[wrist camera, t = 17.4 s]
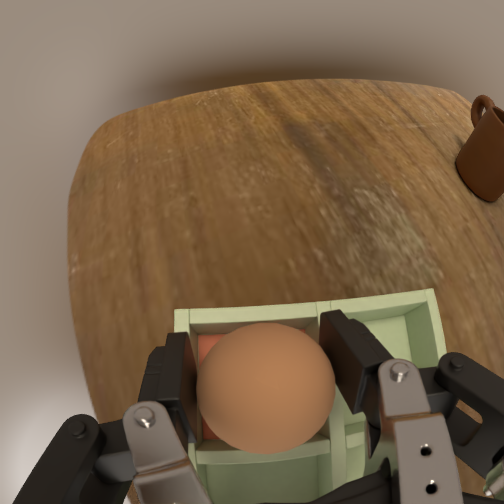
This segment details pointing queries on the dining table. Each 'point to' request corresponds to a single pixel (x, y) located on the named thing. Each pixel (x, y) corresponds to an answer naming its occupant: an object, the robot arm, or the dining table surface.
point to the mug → (484, 151)
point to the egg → (265, 388)
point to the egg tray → (340, 418)
